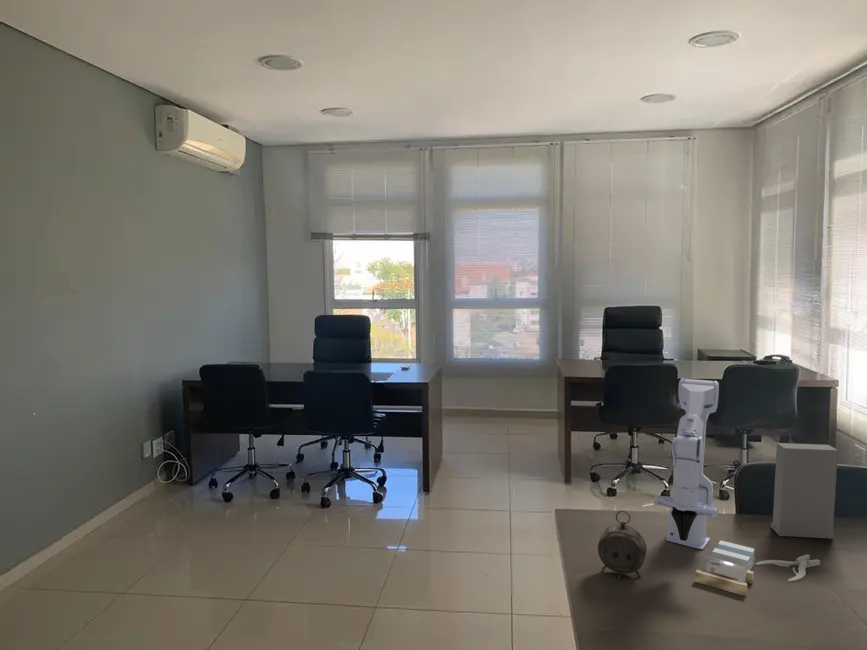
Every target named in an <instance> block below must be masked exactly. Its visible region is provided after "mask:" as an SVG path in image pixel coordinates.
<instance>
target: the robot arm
mask: <svg viewBox="0 0 867 650" xmlns="http://www.w3.org/2000/svg"><path fill="white" fill-rule="evenodd" d="M678 382H679V383H678V395H677V397H678V401H679V405H680V408H681V409H682V410H684V411H685V414H684V415H682V416H681V417H680V419H679V422H678V427H677V432H676V437H675V436H673V439H672V444H671V455H672V467H673V480H672V483H673V484H672V486H673V487H672V495H671V496H666V495H659V494H658V495H657V494H656V495H655V496H654V497H653V506H654V505H655V506H663V507H667V508H668V507H669V510H668V514H667V527H666V529H667V530H666V532H667V533H666V539H665V540H666V541H668V542H669V543H670V542H671V543H675V544H680V545H682V546H687V547H690V548H695V549H698V550H704V548H705V547H706V545H708V543H709V542H710V541H711V538H710V537H708V536H707V516H708V517H710V518H712V519H716V518H717V517H718V513H719V511H718V510H719V508H718V507H714V506H713V502H714V490H713V489H714V484H713V482H712V480H711V479H709V477H707V476H706V475H705V474H704V460H705V448H706V446H705V445H706V434H707V432H706V430H707V421H708V419H709V416H710V414H714V413H716V412H717V409H718V402H719V392H720V382H718V381H717V380H706V379H705V380H704V379H695V378H694V379H691V378H685V377H682V378H681V379H680V380H679V381H678Z"/></svg>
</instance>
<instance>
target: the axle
mask: <svg viewBox="0 0 867 650" xmlns="http://www.w3.org/2000/svg"><path fill="white" fill-rule="evenodd" d="M701 571H704V572H708V573H711V574H715V575H718V576H722V577H725V578H729V579H733V580H736V581H740V582H743V583H747V577H748V568H747V567H746V566H743V565H739V564H735V563H731V562H728V561H724V560H720V559H716V558H713V557H712V556H710V555H705V556H704V558H703V560H702V566H701ZM747 584H748V583H747Z"/></svg>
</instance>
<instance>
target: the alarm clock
mask: <svg viewBox="0 0 867 650" xmlns="http://www.w3.org/2000/svg"><path fill="white" fill-rule="evenodd" d="M620 513H625V514H626V515H627V516H628V521H627V522H625V521H621V522H620V521H619V520H618V515H619V514H620ZM615 519H616V522H617V523H619V524H613V525H611V526H608V527H606V529H604V530H603V532H602V533H601V534H600V535H601V536H600V538H599V541H598V544H597V545H598V546H597V552H598V556H599V559H600V561H601V562H602V563H603V565H604V566H603V567H601V569H602V570H605V569H606V568H608V569H609V570H611V571H612V572H614V573H616V574H617V579H618V580H620V579H621V578H622V575H629V574H630V575H631V574H633V573H635V575H637V577H638V578H641V574H640V573H639V570H640V569H641V568H642V567H643V565H644V563H645V559H646V555H647V544H646V541H645V539H644V538H643V537H644V536H642V534H641V533H640V532H639V531H638V530H636V529H635V528H633V527H631V526H630V525H627V524H629V523H630V521H631V515H630V513H628V512H627V511H626V510H619V511H617V513H615Z"/></svg>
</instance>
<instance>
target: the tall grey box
mask: <svg viewBox="0 0 867 650" xmlns="http://www.w3.org/2000/svg"><path fill="white" fill-rule="evenodd" d="M775 452H776V454H775V471H774V472H775V474H774V490H773V491H774V494H773V495H774V496H773V512H772V522H771V523H770V527H771V529H772V530H773V531H774V532H775V533H776V534H777V535H778V536H779V537H797V538H798V537H799V538H816V539H827V538H828V539H827V540H831V539H832V540H833V539H834V535H835V534H834V518H835V506H836V504H835V503H836V502H835V501H836V490H837V488H836V485H837V471H838V454H839V450H838V449H837V448H835V447H833V446H831V444H817V443H816V444H814V443H813V444H812V443H793V442H792V443H789V442H788V443H787V442H786V443H785V442H776V451H775Z"/></svg>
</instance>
